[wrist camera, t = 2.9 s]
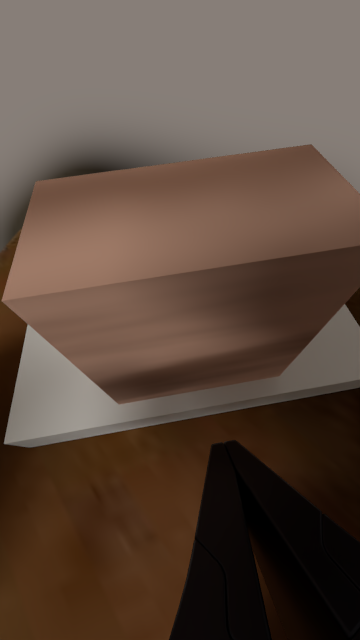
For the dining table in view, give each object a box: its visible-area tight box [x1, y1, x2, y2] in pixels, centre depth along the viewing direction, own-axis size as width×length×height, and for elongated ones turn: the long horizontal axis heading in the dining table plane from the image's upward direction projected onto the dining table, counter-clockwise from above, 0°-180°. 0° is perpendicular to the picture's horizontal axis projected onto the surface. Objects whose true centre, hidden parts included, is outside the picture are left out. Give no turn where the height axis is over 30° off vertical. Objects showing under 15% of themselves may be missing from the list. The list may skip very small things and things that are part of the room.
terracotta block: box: [2, 145, 360, 404], centre depth 11 cm, size 5×10×10 cm, turn 99°
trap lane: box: [4, 304, 360, 448], centre depth 20 cm, size 19×22×2 cm
